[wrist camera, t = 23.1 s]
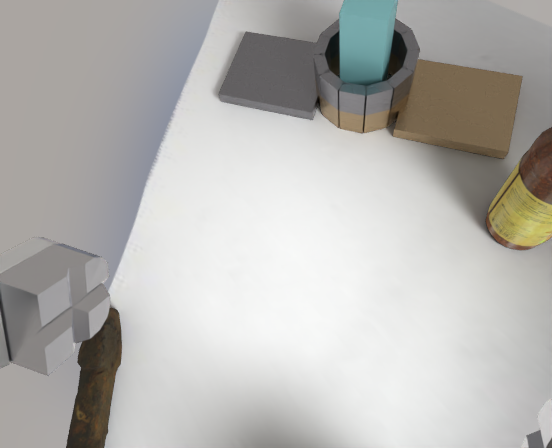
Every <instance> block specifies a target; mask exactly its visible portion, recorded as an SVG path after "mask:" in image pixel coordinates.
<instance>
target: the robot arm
mask: <svg viewBox="0 0 552 448" xmlns="http://www.w3.org/2000/svg"><path fill="white" fill-rule="evenodd" d="M108 277H109V271H108V262H107V261H105V260H104V259H103V258H102V257H100V256H97V255H94V254H91V253H88V252H86V251H83V250H80V249H77V248H74V247H71V246H68V245H65V244H60V243H58V242H56V241H52V240H49V239H46V238H43V237H33V238H31V239H29V240H27V241H25V242H23V243H21V244H19V245H17V246H15V247H13V248H11V249H9V250H7V251H5V252H3V253H1V254H0V368H3V367H5V366H7V365H9V364H10V362H11V363H14V364H17V365H19V366H22V367H25V368H27V369H30V370H33V371H36V372H38V373H41V374H44V375H47V376H49V375H50V374H51V373H52V372H53V371H54V370H55V369H57V368H58V367H59V366H60V365H61V364H62V363H63V362H64V361H66V360H67V359H68V358H69V357H70V356H71V355H73V354H74V350H75V343H79V342H82V341H85V340H88V339H91V338H92V337H93V336H94V335H95V334H96V333H97V332H98V331H99V330H100V329H101V327H102V325H103V324H104V322H105V320H106V318H107V317H108V313H109V308H110V295H109V293H108V291H107V290H106V288H105V287H104V285H103V283H104V282H105V281H106V280H107V278H108ZM537 418H538V422H539V427H540V430H539V431H536V432H534V433H531V434H529V435H527V436H526V438H525V440H524V442H523V444H522V446H521V448H552V399H549V400H548V401H547V402H546V403H545V404H544V405H543V406H542V408H541V410H540V412H539V413H538V415H537Z"/></svg>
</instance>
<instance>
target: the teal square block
mask: <svg viewBox="0 0 552 448" xmlns="http://www.w3.org/2000/svg"><path fill="white" fill-rule="evenodd" d="M397 3H398V0H344V2H343V5H342V8H341V10H340V13H339V24H340V79H341V80H343V81H344V82H347V83H352V84H358V85H364V86H367V85H371V84H375V83H379V82H383V81H387V75H388V68H389V61H390V54H391V46H392V39H393V32H394V25H395V17H396V10H397Z"/></svg>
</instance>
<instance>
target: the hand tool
mask: <svg viewBox="0 0 552 448" xmlns="http://www.w3.org/2000/svg"><path fill="white" fill-rule="evenodd" d="M121 354H122V340H121V325H120V319H119V313H118V311H117V310H116V309H114V308H109V313H108V317H107V318H106V320H105V322H104V324H103V325H102V327H101V329H100V330H99V331H98V332H97V333H96V334H95V335H94V336H93V337H92V338H91V339H88V340H85V341H82V344H81V347H80V350H79V355H78V364H79V365H80V367H81V371H80V380H79V386H78V393H77V396H76V399H75V405H74V410H73V415H72V420H71V424H70V430H69V435H68V440H67V446H66V448H104V446H105V439H106V435H107V433H108V421H109V415H110V406H111V400H112V394H113V388H114V382H115V375H116V371H117V368H118V367H119V366H120V364H121Z"/></svg>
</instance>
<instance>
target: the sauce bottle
mask: <svg viewBox="0 0 552 448" xmlns="http://www.w3.org/2000/svg"><path fill="white" fill-rule="evenodd" d="M486 224H487V228H488V230H489V232H490V233H491V234H492V236H493V238H494V239H495V240H496V241H497V242H499V243H500V244H502V245H503V246H505V247H509V248H511V249H517V250H527V249H531V248H533V247H535V246H537V245H540V244H541V243H544V242H546V241H547V240H548V239H550V238H551V237H552V127H551V128H549V129H547V130H546V131H544V132H542V134H541V135H540V136H539V137H538V138H537V139H536V140H535V142H534V143H533V144H532V146H531V148H530V149H529V150H528V151H527V152H526V153H525V154H524V155H523V157H522V158H521V160H520V161H519V163H518V164H517V166H516V167H515V168H514V170H513V171H512V173H511V174H510V176H509V177H508V179H507V180H506V182H505V183H504V185H503V186H502V188H501V189H500V191H499V192H498V194H497V195H496V197H495V198H494V199H493V201H492V202H491V204H490V207H489V210H488V213H487V217H486Z"/></svg>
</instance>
